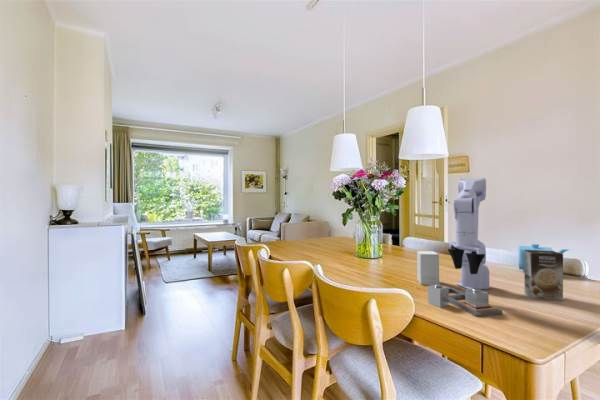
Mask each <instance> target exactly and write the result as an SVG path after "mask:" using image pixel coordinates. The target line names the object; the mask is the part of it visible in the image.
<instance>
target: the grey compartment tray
mask: <svg viewBox="0 0 600 400" xmlns="http://www.w3.org/2000/svg"><path fill="white" fill-rule="evenodd" d="M449 293H452V294H449V304H452V305H454V306H455V307H457V308H459V309H460V310H463V311H465V312H466V313H469V314H471V315H472V316H474V317H485V316H495V315H497V316H498V315H503V309H501V308H499V307H497V306H494V305H492V304H489V308H485V309H475V308H473V307H471V306H469V305H467V304H465V292H463V291H460V290H458V289H456V288H454V287H452V286H451V287H449ZM460 299H462V300H463V299H464V300H463V301H459V300H460Z"/></svg>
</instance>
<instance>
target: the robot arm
mask: <svg viewBox="0 0 600 400" xmlns="http://www.w3.org/2000/svg"><path fill="white" fill-rule="evenodd" d="M457 190H458V191H457V192H458V195H457V196H458V197H457V198H456V199H454V200H453V212H454V219H455V241H449V243H448V245H449V247H448V249H447V252H448V253H449V254H450V257H451V260H452V262H453V265H454V269H457V270H459V269H460V282H456V283H455V285H457V286H460V287H462V288H465V290H466V289H474V288H475V289H480V290H484V289H485V290H486V289H487V290H488V289H492V287H491V286H490V270H489V267H488V266H487V265H486V263H487V249H486V245H485V244H484V243H483V242H482V241H480V240H479V238H478V237H479V211H480V210H479V209H480V208H479V207H480V204H481V202H484V201H485V200H486V197H487V179H486V177H479V178H478V177H477V178H459V179H458V181H457Z"/></svg>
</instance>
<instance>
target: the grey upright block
mask: <svg viewBox="0 0 600 400" xmlns="http://www.w3.org/2000/svg"><path fill="white" fill-rule="evenodd" d="M449 288H450V286H447V285H442V284H441V283H439V284H434V285H427V301H428V302H427V304H428V305H432V306H435V307H437V308H440V309H441V308H444V307H446V306H449V305H450V302H449V295H450V292H449Z"/></svg>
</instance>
